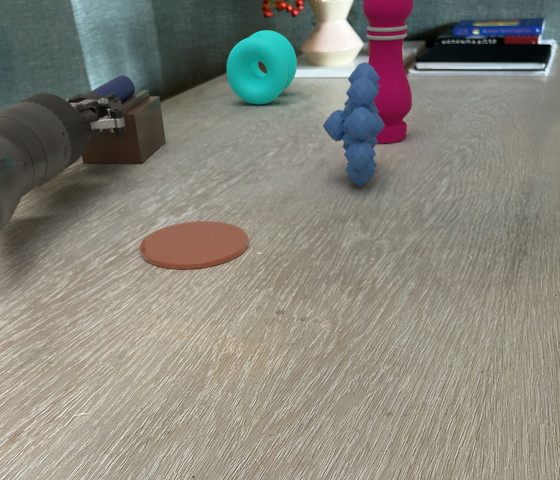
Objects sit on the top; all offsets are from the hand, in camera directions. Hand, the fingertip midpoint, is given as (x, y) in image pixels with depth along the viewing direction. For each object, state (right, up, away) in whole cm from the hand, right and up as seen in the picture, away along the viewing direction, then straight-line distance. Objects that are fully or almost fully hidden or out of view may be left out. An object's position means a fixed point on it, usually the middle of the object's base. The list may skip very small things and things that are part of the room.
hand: (99, 102), depth 81 cm
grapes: (+30, -11, -5) cm, 32 cm away
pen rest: (+1, -3, +9) cm, 9 cm away
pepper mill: (+36, -1, +9) cm, 37 cm away
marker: (0, +1, +2) cm, 2 cm away
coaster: (+14, -21, -19) cm, 31 cm away
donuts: (+19, +13, +32) cm, 39 cm away
